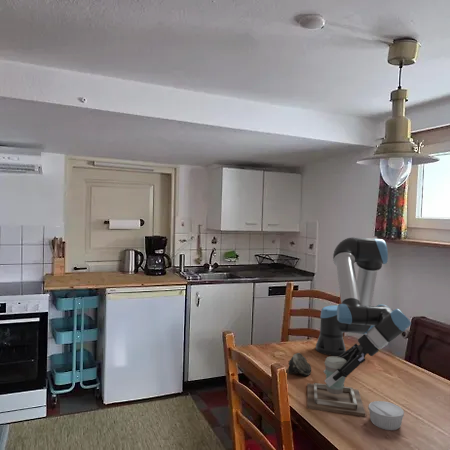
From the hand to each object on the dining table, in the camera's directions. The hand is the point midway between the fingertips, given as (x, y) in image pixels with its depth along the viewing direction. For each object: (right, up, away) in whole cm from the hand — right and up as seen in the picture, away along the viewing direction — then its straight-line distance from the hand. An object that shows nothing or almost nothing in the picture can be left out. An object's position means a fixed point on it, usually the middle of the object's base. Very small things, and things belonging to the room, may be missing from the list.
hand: (326, 378), depth 151 cm
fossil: (-6, -7, +25) cm, 26 cm away
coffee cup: (+3, -5, -1) cm, 6 cm away
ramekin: (+16, -9, -16) cm, 25 cm away
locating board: (+3, -8, 0) cm, 8 cm away
